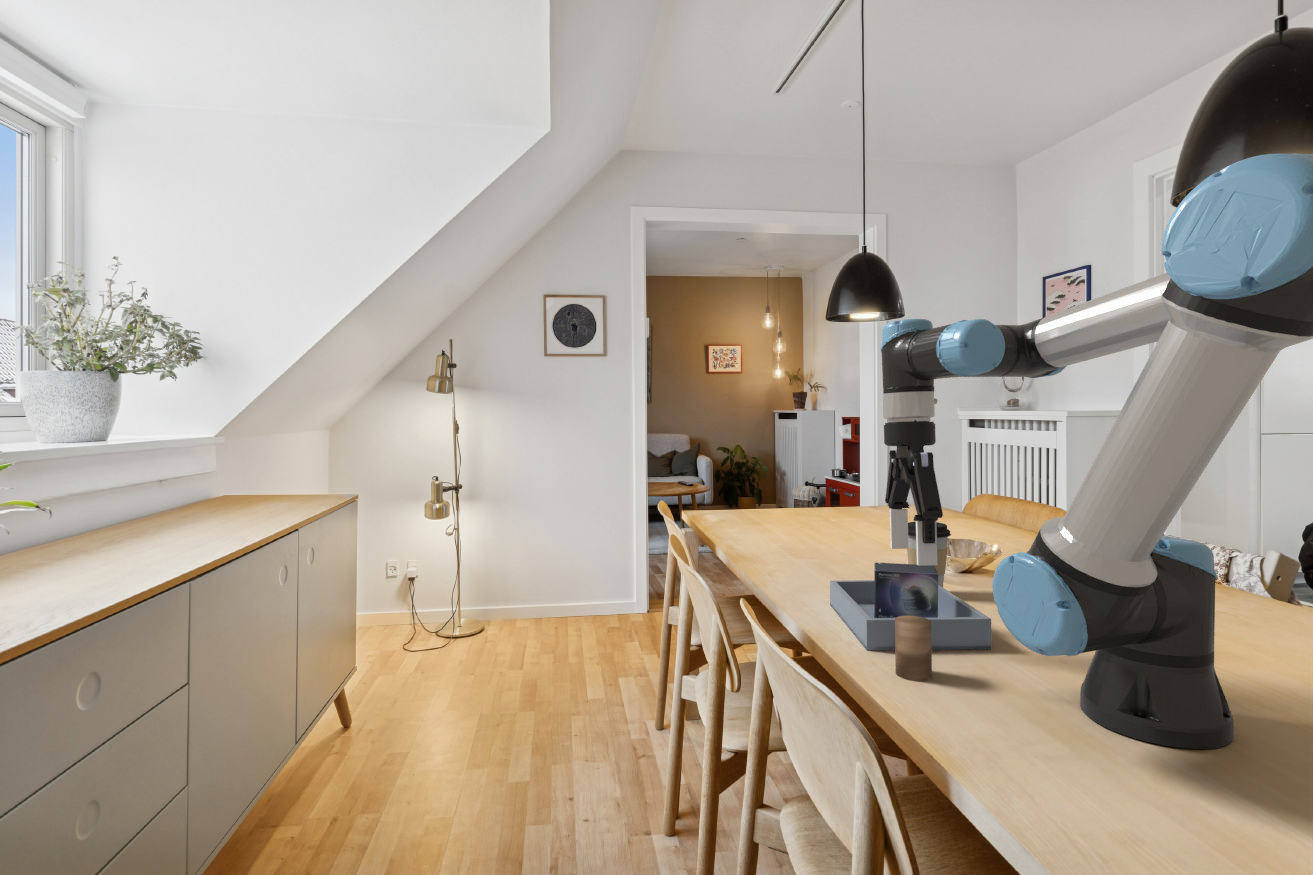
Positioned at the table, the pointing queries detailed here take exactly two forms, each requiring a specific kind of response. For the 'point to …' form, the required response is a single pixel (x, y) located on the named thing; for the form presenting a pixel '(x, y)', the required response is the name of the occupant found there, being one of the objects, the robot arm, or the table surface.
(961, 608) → the tray
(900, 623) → the walnut cylinder
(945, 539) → the coffee cup
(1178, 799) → the table surface
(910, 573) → the small box
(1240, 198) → the robot arm
